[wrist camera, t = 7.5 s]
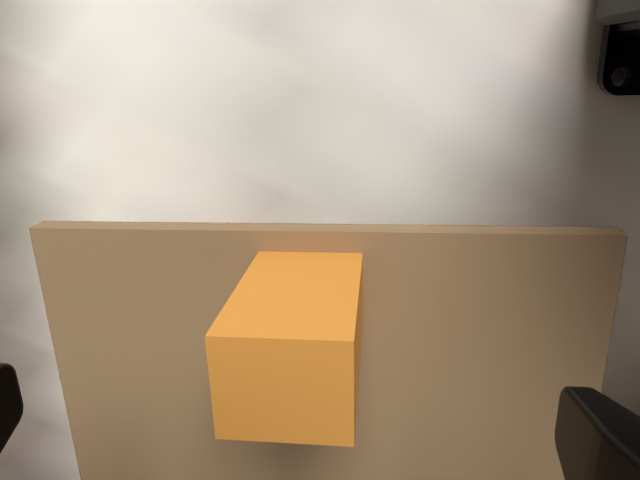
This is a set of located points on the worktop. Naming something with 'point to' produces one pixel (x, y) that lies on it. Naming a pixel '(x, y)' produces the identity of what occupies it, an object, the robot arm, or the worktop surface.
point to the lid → (324, 346)
